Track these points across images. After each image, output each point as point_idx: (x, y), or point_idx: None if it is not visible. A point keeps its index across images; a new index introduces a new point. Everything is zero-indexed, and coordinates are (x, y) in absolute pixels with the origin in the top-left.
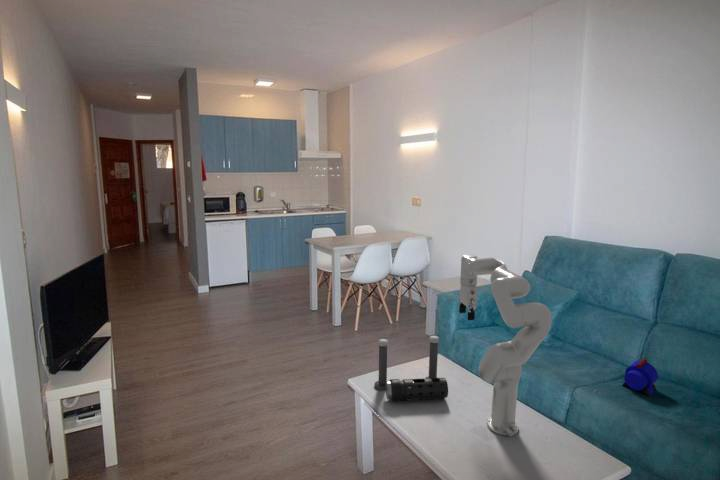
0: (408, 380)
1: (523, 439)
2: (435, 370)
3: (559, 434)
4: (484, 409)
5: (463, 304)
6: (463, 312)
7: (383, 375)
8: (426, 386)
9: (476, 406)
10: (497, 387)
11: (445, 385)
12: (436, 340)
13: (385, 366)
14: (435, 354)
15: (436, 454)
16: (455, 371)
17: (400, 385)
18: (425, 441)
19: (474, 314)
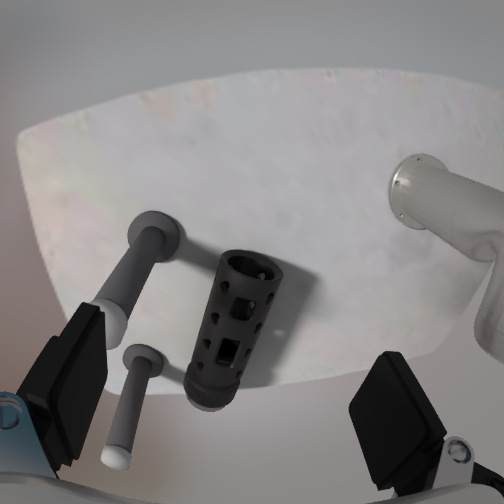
0: (219, 376)
1: None
2: (155, 253)
3: (481, 100)
4: (349, 178)
5: (54, 442)
6: (105, 341)
7: (146, 387)
8: (255, 338)
9: (327, 189)
10: (485, 261)
11: (275, 287)
12: (123, 327)
13: (140, 401)
14: (140, 288)
15: None
16: (113, 123)
17: (229, 393)
18: (365, 360)
19: (426, 404)
